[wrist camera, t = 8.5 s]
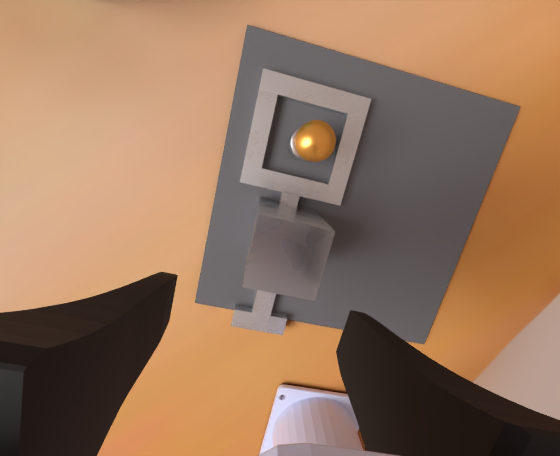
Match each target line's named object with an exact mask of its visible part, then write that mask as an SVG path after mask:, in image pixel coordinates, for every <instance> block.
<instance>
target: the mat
mask: <svg viewBox="0 0 560 456" xmlns="http://www.w3.org/2000/svg"><path fill="white" fill-rule="evenodd" d="M263 68H264V69H268V70H271V71H275V72H278V73H282V74H285V75H289V76H292V77H296V78H299V79H303V80H307V81H310V82H314V83H317V84H321V85H324V86H328V87H331V88H335V89H338V90H342V91H345V92H349V93H352V94H356V95H359V96H363V97H366V98H370V99H371V102H370V106H369V109H368V112H367V116H366V119H365V123H364V126H363V130H362V133H361V136H360V140H359V143H358V147H357V150H356V154H355V157H354V161H353V164H352V167H351V171H350V174H349V178H348V181H347V185H346V188H345V191H344V195H343V198H342V202H341V205H335V204H331V203H327V202H323V201H318V200H314V199H310V198H305V197H301V196H300V197H299V201H298V205H297V206H299V207H304V208H308V209H312V210H315V211H316V212H317V213H318V214H319V215H320V216H321V217H322V218H323V219H324V220H325V221H326V222H327V223H328V224H329V225H330V226H331V227H332V229H333V230H334V231H335V234H334V238H333V241H332V245H331V248H330V251H329V255H328V258H327V262H326V265H325V268H324V272H323V275H322V279H321V282H320V285H319V289H318V292H317V296H316V299H315V301H312V300H307V299H302V298H296V297H291V296H286V295H281V294H276V296H275V300H274V304H273V308H272V311H276V312H281V313H286V315H287V320H293V321H298V322H304V323H309V324H315V325H320V326H326V327H331V328H337V329H342V330H344V327H345V324H346V321H347V318H348V315H349V312H350V310H353V311H358V312H363V313H365V314H367V315H369V316H371V317H372V318H374V319H375V320H377V321H378V322H380V323H381V324H382V325H384V326H385V327H386V328H388V329H389V330H391V331H392V332H393V333H395V334H396V335H397V336H399V337H400V338H401V339H403V340H404V341H409V342H414V343H420V344H425V341H426V339H427V336H428V334H429V331H430V329H431V326H432V324H433V321H434V319H435V316H436V314H437V312H438V309H439V307H440V304H441V302H442V299H443V297H444V294H445V292H446V289H447V287H448V284H449V282H450V280H451V277H452V275H453V272H454V270H455V267H456V265H457V262H458V260H459V257H460V255H461V252H462V250H463V247H464V245H465V243H466V240H467V238H468V235H469V233H470V230H471V228H472V225H473V223H474V220H475V218H476V215H477V213H478V210H479V208H480V206H481V203H482V201H483V198H484V196H485V193H486V191H487V188H488V186H489V183H490V181H491V178H492V176H493V173H494V171H495V169H496V166H497V164H498V161H499V159H500V156H501V154H502V151H503V149H504V146H505V144H506V141H507V139H508V137H509V134H510V132H511V129H512V127H513V124H514V122H515V119H516V117H517V114H518V112H519V109H520V106H516V105H513V104H510V103H506V102H503V101H500V100H496V99H493V98H490V97H486V96H483V95H480V94H476V93H473V92H470V91H466V90H463V89H460V88H456V87H453V86H450V85H446V84H443V83H440V82H436V81H433V80H430V79H426V78H423V77H420V76H416V75H413V74H410V73H406V72H403V71H400V70H396V69H393V68H390V67H386V66H383V65H380V64H376V63H373V62H370V61H366V60H363V59H360V58H356V57H353V56H350V55H346V54H343V53H340V52H336V51H333V50H330V49H326V48H323V47H320V46H316V45H313V44H310V43H306V42H303V41H300V40H296V39H293V38H290V37H286V36H283V35H280V34H276V33H273V32H270V31H266V30H263V29H260V28H256V27H253V26H250V25H247V29H246V35H245V40H244V45H243V50H242V56H241V61H240V66H239V72H238V77H237V82H236V88H235V93H234V98H233V103H232V109H231V114H230V119H229V125H228V130H227V135H226V141H225V146H224V151H223V156H222V162H221V167H220V172H219V178H218V183H217V188H216V194H215V199H214V204H213V210H212V215H211V220H210V225H209V231H208V236H207V241H206V247H205V252H204V257H203V263H202V268H201V273H200V278H199V284H198V289H197V294H196V300H195V303H199V304H204V305H210V306H215V307H221V308H226V309H232V310H234V309H235V304H238V305H243V306H249V307H252V306H253V302H254V298H255V294H256V290H254V289H249V288H244V287H242V285H243V278H244V271H245V265H246V258H247V251H248V246H249V242H250V238H251V233H252V229H253V224H254V220H255V215H256V211H257V206H258V202H259V197H260V198H265V199H269V200H273V201H278V202H279V200H280V196H281V192H280V191H276V190H271V189H267V188H263V187H258V186H254V185H250V184H246V183H241V182H240V179H241V174H242V169H243V164H244V159H245V154H246V149H247V145H248V140H249V135H250V130H251V125H252V120H253V115H254V111H255V106H256V101H257V96H258V91H259V86H260V81H261V77H262V72H263ZM344 116H345V115H341V114H338V113H334V112H330V111H327V110H323V109H319V108H316V107H312V106H308V105H305V104H301V103H297V102H294V101H290V100H286V99H283V98H279V97H277V101H276V105H275V110H274V114H273V119H272V124H271V128H270V133H269V137H268V142H267V146H266V151H265V155H264V160H263V164H262V168H264V169H268V170H273V171H277V172H281V173H285V174H289V175H293V176H297V177H301V178H306V179H310V180H314V181H318V182H322V183H326V181H327V178H328V174H329V170H330V167H331V163H332V159H333V156H334V152H335V148H336V145H337V141H338V137H339V134H340V130H341V127H342V123H343V119H344ZM312 120H321V121H324V122H326V123H327V124H329V125H330V126H331V127H332V129H333V131H334V133H335V137H336V144H335V148H334V150H333V152H332V154H331V155H330V156H329V157H328V158H326V159H325V160H322V161H319V162H311V161H302V160H297V159H295V158H293V157H292V156H291V155H290V154H289V152H288V149H287V141H288V138H289V137H290V135H291V134H292V133H293V132H295V131H296V130H297V129H299V128H300V127H301V126H303V125H304V124H305V123H307V122H309V121H312Z"/></svg>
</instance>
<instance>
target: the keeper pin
mask: <svg viewBox="0 0 560 456" xmlns="http://www.w3.org/2000/svg"><path fill="white" fill-rule="evenodd" d="M335 144H336V137H335V133H334V131H333V129H332V127H331V126H330V125H329V124H327V123H326V122H324V121H321V120H312V121H309V122H307V123H305V124H304V125H303V126H301V127H300V128H299V129H297V130H296V131H295V132H293V133H292V134H291V135H290V137H289V138H288V141H287V149H288V152H289V154H290V155H291V156H292V157H293V158H295V159H297V160H302V161H311V162H319V161H322V160H325V159H326V158H328V157H329V156H330V155H331V154H332V152H333V150H334V148H335Z"/></svg>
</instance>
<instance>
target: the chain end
mask: <svg viewBox="0 0 560 456" xmlns="http://www.w3.org/2000/svg"><path fill="white" fill-rule="evenodd" d="M277 97H279V98H283V99H286V100H290V101H294V102H297V103H301V104H305V105H308V106H312V107H316V108H319V109H323V110H327V111H330V112H334V113H338V114H341V115H345V116H344V119H343V123H342V127H341V130H340V134H339V137H338V141H337V145H336V148H335V152H334V156H333V159H332V163H331V167H330V170H329V174H328V178H327V181H326V183H322V182H318V181H314V180H310V179H306V178H301V177H297V176H293V175H289V174H285V173H281V172H277V171H273V170H268V169H264V168H262V164H263V160H264V155H265V151H266V146H267V142H268V137H269V133H270V128H271V124H272V119H273V114H274V110H275V105H276V101H277ZM370 102H371V99H370V98H366V97H363V96H359V95H356V94H352V93H349V92H345V91H342V90H338V89H335V88H331V87H328V86H324V85H321V84H317V83H314V82H310V81H307V80H303V79H299V78H296V77H292V76H289V75H285V74H282V73H278V72H275V71H271V70H268V69H264V68H263V72H262V77H261V81H260V86H259V91H258V96H257V101H256V106H255V111H254V115H253V120H252V125H251V130H250V135H249V140H248V145H247V149H246V154H245V159H244V164H243V169H242V174H241V179H240V182H241V183H246V184H250V185H254V186H258V187H263V188H267V189H271V190H276V191H280V192H281V196H280V200H279V202H278V201H273V200H269V199H265V198H260V197H259V202H258V206H257V211H256V215H255V220H254V224H253V229H252V233H251V238H250V242H249V246H248V251H247V258H246V265H245V271H244V278H243V285H242V287H244V288H249V289H254V290H256V294H255V298H254V302H253V306H252V307H249V306H243V305H238V304H235V309H234V313H233V318H232V323H231V326H233V327H239V328H245V329H251V330H256V331H262V332H268V333H274V334H279V335H283V332H284V329H285V325H286V321H287V315H286V313H281V312H276V311H272V308H273V304H274V300H275V296H276V294H281V295H286V296H291V297H296V298H302V299H307V300H312V301H315V299H316V296H317V292H318V289H319V285H320V282H321V279H322V275H323V272H324V268H325V265H326V262H327V258H328V255H329V251H330V248H331V245H332V241H333V238H334V234H335V231H334V230H333V229H332V227H331V226H330V225H329V224H328V223H327V222H326V221H325V220H324V219H323V218H322V217H321V216H320V215H319V214H318V213H317V212H316V211H315V210H312V209H308V208H304V207H299V206H297V205H298V201H299V197H300V196H301V197H305V198H310V199H314V200H318V201H323V202H327V203H331V204H335V205H341V202H342V198H343V195H344V191H345V188H346V185H347V181H348V178H349V174H350V171H351V167H352V164H353V161H354V157H355V154H356V150H357V147H358V143H359V140H360V136H361V133H362V130H363V126H364V123H365V119H366V116H367V112H368V109H369V106H370Z"/></svg>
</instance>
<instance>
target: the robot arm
mask: <svg viewBox="0 0 560 456" xmlns="http://www.w3.org/2000/svg"><path fill="white" fill-rule="evenodd" d="M177 276H178V275H175V274H170V273H165V272H159V273H156V274H154V275H151V276H149V277H146V278H144V279H141V280H139V281H136V282H134V283H131V284H129V285H126V286H123V287H121V288H118V289H115V290H112V291H109V292H106V293H103V294H100V295H97V296H93V297H89V298H86V299H82V300H78V301H73V302H69V303H64V304H59V305H53V306H47V307H42V308H36V309H30V310H22V311H14V312H4V313H0V456H97V454H98V452H99V450H100V448H101V446H102V444H103V442H104V439H105V437H106V435H107V433H108V431H109V429H110V427H111V425H112V423H113V421H114V419H115V417H116V415H117V413H118V411H119V409H120V407H121V405H122V403H123V402H124V400H125V398H126V396H127V395H128V393H129V391H130V390H131V388H132V386H133V385H134V383H135V382H136V380H137V378H138V377H139V375H140V374H141V372H142V370H143V369H144V367H145V365H146V364H147V362H148V361H149V359H150V357H151V356H152V354H153V352H154V351H155V349H156V348H157V346H158V344H159V343H160V340H161V338H162V336H163V334H164V332H165V329H166V327H167V325H168V322H169V319H170V314H171V308H172V303H173V297H174V292H175V287H176V281H177ZM336 353H337V359H338V364H339V369H340V373H341V377H342V380H343V383H344V386H345V388H346V391H347V394H344V393H337V392H331V391H324V390H318V389H311V388H305V387H298V386H292V385H285V384H283V385H280V386H279V387H278V389H277V393H276V396H275V400H274V403H273V407H272V411H271V414H270V418H269V421H268V425H267V428H266V432H265V435H264V439H263V442H262V446H261V449H260V453H259V455H258V456H560V420H557V419H555V418H552V417H549V416H547V415H544V414H541V413H539V412H536V411H533V410H531V409H528V408H526V407H524V406H521V405H519V404H517V403H515V402H512V401H510V400H507V399H505V398H503V397H501V396H499V395H496V394H495V393H492V392H490V391H488V390H486V389H484V388H482V387H480V386H478V385H476V384H474V383H472V382H470V381H468V380H466V379H465V378H463V377H461V376H459V375H457V374H455V373H454V372H452V371H450V370H449V369H447V368H445V367H444V366H442V365H440V364H438V363H437V362H435V361H434V360H432V359H430V358H429V357H427V356H426V355H424V354H423V353H421V352H420V351H419V350H417V349H416V348H414V347H413V346H411V345H410V344H408V343H407V342H406V341H404V340H403V339H401V338H400V337H399V336H397V335H396V334H395V333H393V332H392V331H391V330H389V329H388V328H386V327H385V326H384V325H382V324H381V323H380V322H378V321H377V320H375V319H374V318H372V317H371V316H369V315H367V314H365V313H363V312H358V311H353V310H350V312H349V315H348V318H347V321H346V324H345V327H344V330H343V333H342V336H341V339H340V342H339V345H338V348H337V351H336ZM281 395H284V396H281ZM359 428H360V431H361V434H362V438H363V441H364V445H365V449H366V451H364V450H363V448H362V445H361V442H360V439H359V436H358V430H359Z"/></svg>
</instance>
